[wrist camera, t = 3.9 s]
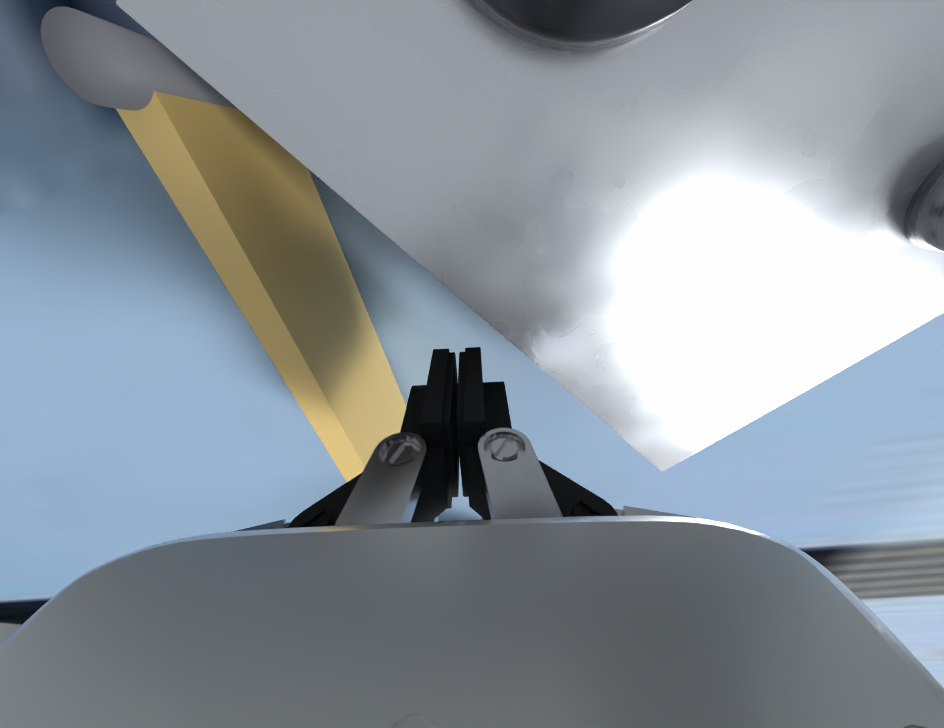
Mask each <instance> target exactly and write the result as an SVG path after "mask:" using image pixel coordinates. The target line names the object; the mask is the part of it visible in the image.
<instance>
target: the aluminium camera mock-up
mask: <svg viewBox="0 0 944 728" xmlns="http://www.w3.org/2000/svg"><path fill="white" fill-rule="evenodd" d="M116 4H117V5H118V6H119V7H120V8H121V9H122V10H124V11H125V12H126V13H127V14H128V15H129V16H131V17H132V18H133V19H134V20H135V21H136V22H138V23H139V24H140V25H141V26H142V27H143V28H145V29H146V30H147V31H148V32H149V33H150V34H152V35H153V36H154V37H155V38H156V39H157V40H159V41H160V42H161V43H162V44H163V45H164V46H166V47H167V48H168V49H169V50H170V51H171V52H173V53H174V54H175V55H176V56H177V57H178V58H180V59H181V60H182V61H183V62H184V63H185V64H187V65H188V66H189V67H190V68H191V69H192V70H194V71H195V72H196V73H197V74H198V75H199V76H201V77H202V78H203V79H204V80H205V81H206V82H208V83H209V84H210V85H211V86H212V87H213V88H215V89H216V90H217V91H218V92H219V93H220V94H222V95H223V96H224V97H225V98H226V99H227V100H229V101H230V102H231V103H232V104H233V105H234V106H236V107H237V108H238V109H239V110H240V111H241V112H243V113H244V114H245V115H246V116H247V117H248V118H250V119H251V120H252V121H253V122H254V123H255V124H257V125H258V126H259V127H260V128H261V129H262V130H264V131H265V132H266V133H267V134H268V135H269V136H271V137H272V138H273V139H274V140H275V141H276V142H278V143H279V144H280V145H281V146H282V147H283V148H285V149H286V150H287V151H288V152H289V153H291V154H292V155H293V156H294V157H295V158H296V159H298V160H299V161H300V162H301V163H302V164H303V165H305V166H306V167H307V168H308V169H309V170H310V171H312V172H313V173H314V174H315V175H316V176H317V177H319V178H320V179H321V180H322V181H323V182H324V183H326V184H327V185H328V186H329V187H330V188H331V189H333V190H334V191H335V192H336V193H337V194H338V195H340V196H341V197H342V198H343V199H344V200H345V201H347V202H348V203H349V204H350V205H351V206H352V207H354V208H355V209H356V210H357V211H358V212H359V213H361V214H362V215H363V216H364V217H365V218H366V219H368V220H369V221H370V222H371V223H372V224H373V225H375V226H376V227H377V228H378V229H379V230H380V231H382V232H383V233H384V234H385V235H386V236H387V237H389V238H390V239H391V240H392V241H393V242H394V243H396V244H397V245H398V246H399V247H400V248H401V249H403V250H404V251H405V252H406V253H407V254H408V255H410V256H411V257H412V258H413V259H414V260H415V261H417V262H418V263H419V264H420V265H421V266H422V267H424V268H425V269H426V270H427V271H428V272H429V273H431V274H432V275H433V276H434V277H435V278H436V279H438V280H439V281H440V282H441V283H442V284H443V285H445V286H446V287H447V288H448V289H449V290H450V291H452V292H453V293H454V294H455V295H456V296H457V297H459V298H460V299H461V300H462V301H463V302H464V303H466V304H467V305H468V306H469V307H470V308H472V309H473V310H474V311H475V312H476V313H477V314H479V315H480V316H481V317H482V318H483V319H484V320H486V321H487V322H488V323H489V324H490V325H491V326H493V327H494V328H495V329H496V330H497V331H498V332H500V333H501V334H502V335H503V336H504V337H505V338H507V339H508V340H509V341H510V342H511V343H512V344H514V345H515V346H516V347H517V348H518V349H519V350H521V351H522V352H523V353H524V354H525V355H526V356H528V357H529V358H530V359H531V360H532V361H533V362H535V363H536V364H537V365H538V366H539V367H540V368H542V369H543V370H544V371H545V372H546V373H547V374H549V375H550V376H551V377H552V378H553V379H554V380H556V381H557V382H558V383H559V384H560V385H561V386H563V387H564V388H565V389H566V390H567V391H568V392H570V393H571V394H572V395H573V396H574V397H575V398H577V399H578V400H579V401H580V402H581V403H582V404H584V405H585V406H586V407H587V408H588V409H589V410H591V411H592V412H593V413H594V414H595V415H596V416H598V417H599V418H600V419H601V420H602V421H603V422H605V423H606V424H607V425H608V426H609V427H610V428H612V429H613V430H614V431H615V432H616V433H617V434H619V435H620V436H621V437H622V438H623V439H624V440H626V441H627V442H628V443H629V444H630V445H631V446H633V447H634V448H635V449H636V450H637V451H638V452H640V453H641V454H642V455H643V456H644V457H645V458H647V459H648V460H649V461H650V462H651V463H652V464H654V465H655V466H656V467H657V468H658V469H660V470H661V471H662V472H663V471H665V470H667V469H669V468H670V467H672V466H674V465H676V464H677V463H679V462H681V461H683V460H684V459H686V458H688V457H690V456H692V455H693V454H695V453H697V452H699V451H700V450H702V449H704V448H706V447H707V446H709V445H711V444H713V443H714V442H716V441H718V440H720V439H721V438H723V437H725V436H727V435H729V434H730V433H732V432H734V431H736V430H737V429H739V428H741V427H743V426H744V425H746V424H748V423H750V422H751V421H753V420H755V419H757V418H758V417H760V416H762V415H764V414H766V413H767V412H769V411H771V410H773V409H774V408H776V407H778V406H780V405H781V404H783V403H785V402H787V401H788V400H790V399H792V398H794V397H795V396H797V395H799V394H801V393H803V392H804V391H806V390H808V389H810V388H811V387H813V386H815V385H817V384H818V383H820V382H822V381H824V380H825V379H827V378H829V377H831V376H832V375H834V374H836V373H838V372H840V371H841V370H843V369H845V368H847V367H848V366H850V365H852V364H854V363H855V362H857V361H859V360H861V359H862V358H864V357H866V356H868V355H869V354H871V353H873V352H875V351H877V350H878V349H880V348H882V347H884V346H885V345H887V344H889V343H891V342H892V341H894V340H896V339H898V338H899V337H901V336H903V335H905V334H906V333H908V332H910V331H912V330H914V329H915V328H917V327H919V326H921V325H922V324H924V323H926V322H928V321H929V320H931V319H933V318H935V317H936V316H938V315H940V314H942V313H944V0H117V1H116Z"/></svg>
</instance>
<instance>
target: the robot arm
mask: <svg viewBox="0 0 944 728" xmlns="http://www.w3.org/2000/svg"><path fill="white" fill-rule="evenodd" d="M459 456H460V467H461V477H462V488H463V497H467V496H469V506H470V507H471V508H472V509H473V510H474V511H476V512H477V513H478V514H479V515H480V516H482V520H468V521H441V522H438V515H440V514H441V513H442V512H443V511H444V510H445V509H446V508H451V504H452V497H458V487H459ZM0 728H944V688H943V687H942V686H941V685H940V683H939V682H938V681H937V680H936V679H935V678H934V677H933V676H932V675H931V674H930V673H929V671H928V670H927V669H926V668H925V667H924V666H923V665H922V664H921V663H920V662H919V660H918V659H917V658H916V657H915V656H914V655H913V654H912V653H911V652H910V651H909V650H908V648H907V647H906V646H905V645H904V644H903V643H902V642H901V641H900V640H899V639H898V638H897V637H896V636H895V635H894V634H893V633H892V632H891V631H890V630H889V628H888V627H887V626H886V625H885V624H884V623H883V622H882V621H881V620H880V619H879V618H878V617H877V616H876V615H875V614H874V613H873V612H872V611H871V610H870V609H869V608H868V607H867V606H866V605H865V604H864V603H863V602H862V601H861V600H860V599H859V598H858V597H857V596H856V595H855V594H854V593H853V592H852V591H851V590H850V589H849V588H848V587H847V586H845V585H844V584H843V583H842V582H841V581H840V580H839V579H838V578H837V577H835V576H834V575H833V574H832V573H831V572H830V571H828V570H827V569H826V568H825V567H823V566H822V565H821V564H820V563H819V562H817V561H816V560H814V559H813V558H812V557H810V556H809V555H807V554H806V553H804V552H803V551H801V550H799V549H797V548H796V547H794V546H792V545H790V544H788V543H786V542H784V541H781V540H779V539H777V538H774V537H772V536H769V535H766V534H763V533H761V532H758V531H754V530H750V529H747V528H743V527H740V526H736V525H733V524H729V523H724V522H718V521H713V520H707V519H702V518H696V517H690V516H683V515H677V514H671V513H665V512H659V511H652V510H646V509H640V508H634V507H627V506H623V510H618V509H614V508H613V507H612V506H611V505H610V504H609V503H607V502H606V501H605V500H603V499H602V498H600V497H599V496H597V495H595V494H594V493H592V492H590V491H589V490H587V489H585V488H584V487H582V486H580V485H579V484H577V483H575V482H574V481H572V480H571V479H569V478H567V477H566V476H564V475H562V474H561V473H559V472H557V471H556V470H554V469H552V468H551V467H549V466H547V465H546V464H544V463H542V462H541V461H539V460H538V459H537V456H536V454H535V452H534V449H533V447H532V445H531V443H530V441H529V439H528V438H527V436H525V435H524V434H523V433H521V432H519V431H517V430H515V429H512V427H511V421H510V415H509V409H508V403H507V397H506V391H505V384H504V382H484V383H483V379H482V364H481V349H480V347H474V348H465V352H460V353H459V374H458V380H457V369H456V357H455V352H453V353H450V352H449V349H434V350H433V354H432V359H431V365H430V370H429V375H428V380H427V385H419V386H412V388H411V391H410V395H409V399H408V403H407V407H406V411H405V415H404V418H403V422H402V426H401V430H400V433H396V434H392V435H390V436H388V437H386V438H384V439H383V440H382V441H381V442H379V444H378V445H377V446H376V448H375V449H374V451H373V453H372V455H371V457H370V459H369V461H368V462H367V464H366V466H365V468H364V470H363V472H362V473H361V474H359V475H357V476H356V477H354V478H353V479H351V480H350V481H348V482H347V483H345V484H344V485H342V486H341V487H339V488H338V489H336V490H335V491H333V492H332V493H330V494H329V495H327V496H326V497H324V498H322V499H321V500H319V501H318V502H316V503H315V504H313V505H312V506H310V507H309V508H307V509H306V510H304V511H303V512H302V513H300V514H299V515H298V516H297V517H295V518H294V520H293V521H292V522H290V523H287V522H286V520H285V519H284V520H280V521H275V522H271V523H267V524H263V525H259V526H254V527H250V528H246V529H242V530H238V531H234V532H225V533H215V534H205V535H199V536H193V537H187V538H181V539H177V540H173V541H169V542H165V543H161V544H156V545H152V546H149V547H146V548H143V549H140V550H138V551H135V552H132V553H129V554H126V555H123V556H121V557H118V558H116V559H114V560H112V561H109V562H107V563H105V564H103V565H101V566H99V567H97V568H95V569H93V570H91V571H89V572H87V573H86V574H84V575H82V576H81V577H79V578H78V579H76V580H75V581H73V582H72V583H70V584H69V585H68V586H67V587H65V588H64V589H63V590H61V591H60V592H59V593H58V594H56V595H55V596H54V597H53V598H52V599H50V600H49V601H48V602H47V603H46V604H44V605H43V606H42V607H41V608H40V609H39V610H38V611H37V612H36V613H34V614H33V615H32V616H31V617H30V618H29V619H28V620H27V621H26V622H25V623H24V624H23V625H22V626H21V627H20V628H19V629H17V631H15V632H14V633H13V634H12V635H11V636H10V637H9V638H8V639H7V640H6V641H5V642H4V643H3V644H2V645H1V646H0Z"/></svg>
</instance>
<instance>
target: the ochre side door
mask: <svg viewBox="0 0 944 728" xmlns="http://www.w3.org/2000/svg"><path fill="white" fill-rule="evenodd" d="M41 39H42V44H43V48H44V51H45V53H46V56H47V58H48V60H49V62H50V64H51V66H52V67H53V69H54V70H55V72H56V73H57V75H58V76H59V77H60V79H61V80H62V81H63V82H64V83H65V84H66V85H67V86H68V87H69V88H70V89H71V90H72V91H73V92H74V93H76V94H77V95H78V96H79V97H81V98H83V99H84V100H86V101H88V102H90V103H92V104H95V105H98V106H103V107H110V108H116V110H117V112H118V113H119V115H120V117H121V118H122V120H123V121H124V123H125V125H126V126H127V128H128V129H129V131H130V133H131V134H132V136H133V138H134V139H135V141H136V142H137V144H138V146H139V147H140V149H141V150H142V152H143V154H144V155H145V157H146V159H147V160H148V162H149V163H150V165H151V167H152V168H153V170H154V171H155V173H156V175H157V176H158V178H159V180H160V181H161V183H162V184H163V186H164V188H165V189H166V191H167V192H168V194H169V196H170V197H171V199H172V201H173V202H174V204H175V205H176V207H177V209H178V210H179V212H180V213H181V215H182V217H183V218H184V220H185V221H186V223H187V225H188V226H189V228H190V230H191V231H192V233H193V234H194V236H195V238H196V239H197V241H198V242H199V244H200V246H201V247H202V249H203V251H204V252H205V254H206V255H207V257H208V259H209V260H210V262H211V263H212V265H213V267H214V268H215V270H216V272H217V273H218V275H219V276H220V278H221V280H222V281H223V283H224V284H225V286H226V288H227V289H228V291H229V293H230V294H231V296H232V297H233V299H234V301H235V302H236V304H237V305H238V307H239V309H240V310H241V312H242V314H243V315H244V317H245V318H246V320H247V322H248V323H249V325H250V326H251V328H252V330H253V331H254V333H255V334H256V336H257V338H258V339H259V341H260V343H261V344H262V346H263V347H264V349H265V351H266V352H267V354H268V355H269V357H270V359H271V360H272V362H273V364H274V365H275V367H276V368H277V370H278V372H279V373H280V375H281V376H282V378H283V380H284V381H285V383H286V385H287V386H288V388H289V389H290V391H291V393H292V394H293V396H294V397H295V399H296V401H297V402H298V404H299V406H300V407H301V409H302V410H303V412H304V414H305V415H306V417H307V418H308V420H309V422H310V423H311V425H312V427H313V428H314V430H315V431H316V433H317V435H318V436H319V438H320V439H321V441H322V443H323V444H324V446H325V448H326V449H327V451H328V452H329V454H330V456H331V457H332V459H333V460H334V462H335V464H336V465H337V467H338V468H339V470H340V472H341V473H342V475H343V477H344V478H345V480H346V481H347V482H348V481H350V480H351V479H353V478H354V477H356V476H357V475H359V474H361V473H362V472H363V470H364V468H365V466H366V464H367V462H368V461H369V459H370V457H371V455H372V453H373V451H374V449H375V448H376V446H377V445H378V444H379V442H381V441H382V440H383V439H384V438H386V437H388V436H390V435H392V434H396V433H400V430H401V426H402V422H403V418H404V415H405V411H406V407H407V406H406V404H405V401H404V399H403V397H402V394H401V392H400V389H399V387H398V384H397V382H396V380H395V377H394V375H393V372H392V370H391V368H390V365H389V363H388V360H387V358H386V355H385V353H384V351H383V348H382V346H381V343H380V341H379V338H378V336H377V334H376V331H375V329H374V326H373V324H372V322H371V319H370V317H369V314H368V312H367V309H366V307H365V305H364V302H363V300H362V297H361V295H360V293H359V290H358V288H357V285H356V283H355V280H354V278H353V276H352V273H351V271H350V268H349V266H348V264H347V261H346V259H345V256H344V254H343V251H342V249H341V247H340V244H339V242H338V239H337V237H336V235H335V232H334V230H333V227H332V225H331V222H330V220H329V218H328V215H327V213H326V210H325V208H324V205H323V203H322V201H321V198H320V196H319V193H318V191H317V189H316V186H315V184H314V181H313V179H312V176H311V174H310V172H309V169H308V168H307V167H306V166H305V165H303V164H302V163H301V162H300V161H299V160H298V159H296V158H295V157H294V156H293V155H292V154H291V153H289V152H288V151H287V150H286V149H285V148H283V147H282V146H281V145H280V144H279V143H278V142H276V141H275V140H274V139H273V138H272V137H271V136H269V135H268V134H267V133H266V132H265V131H264V130H262V129H261V128H260V127H259V126H258V125H257V124H255V123H254V122H253V121H252V120H251V119H250V118H248V117H247V116H246V115H245V114H244V113H243V112H241V111H240V110H239V109H238V108H237V107H236V106H234V105H233V104H232V103H231V102H230V101H229V100H227V99H226V98H225V97H224V96H223V95H222V94H220V93H219V92H218V91H217V90H216V89H215V88H213V87H212V86H211V85H210V84H209V83H208V82H206V81H205V80H204V79H203V78H202V77H201V76H199V75H198V74H197V73H196V72H195V71H194V70H192V69H191V68H190V67H189V66H188V65H187V64H185V63H184V62H183V61H182V60H181V59H180V58H178V57H177V56H176V55H175V54H174V53H173V52H171V51H170V50H169V49H168V48H167V47H166V46H164V45H163V44H162V43H161V42H160V41H158V40H155V39H153V38H150V37H147V36H145V35H142V34H139V33H137V32H134V31H132V30H129V29H126V28H124V27H121V26H118V25H116V24H113V23H110V22H108V21H105V20H102V19H100V18H97V17H95V16H92V15H89V14H87V13H84V12H81V11H79V10H76V9H73V8H70V7H55V8H53V9H51V10H49V11H48V12H47V13H46V14H45V16H44V17H43V20H42V23H41Z"/></svg>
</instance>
